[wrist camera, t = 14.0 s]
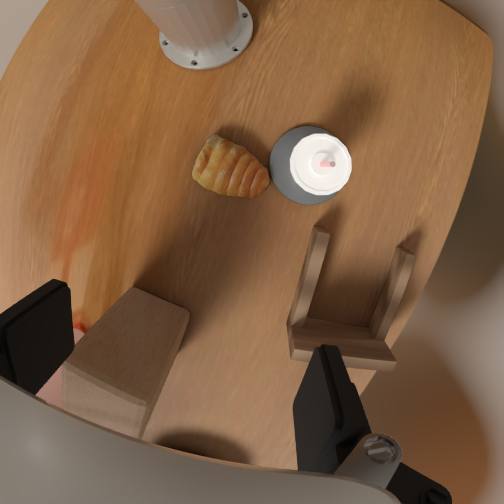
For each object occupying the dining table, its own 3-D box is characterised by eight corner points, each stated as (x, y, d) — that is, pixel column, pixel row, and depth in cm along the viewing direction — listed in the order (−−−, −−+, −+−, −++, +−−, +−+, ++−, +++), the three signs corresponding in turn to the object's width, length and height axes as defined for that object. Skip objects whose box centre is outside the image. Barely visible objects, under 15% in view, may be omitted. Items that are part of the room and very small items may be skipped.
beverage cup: (274, 158, 37) (279, 154, 23) (313, 131, 35) (339, 112, 22) (303, 198, 38) (324, 216, 24) (341, 170, 37) (381, 174, 23)
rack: (313, 225, 39) (326, 242, 31) (405, 248, 40) (436, 269, 31) (286, 323, 43) (290, 359, 35) (373, 337, 44) (392, 371, 35)
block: (131, 282, 43) (58, 357, 23) (193, 309, 43) (149, 403, 24) (120, 333, 45) (60, 414, 26) (175, 358, 46) (136, 452, 27)
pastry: (278, 163, 38) (279, 163, 34) (255, 210, 39) (254, 215, 36) (211, 132, 37) (205, 129, 33) (190, 179, 39) (182, 181, 35)
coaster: (278, 118, 36) (278, 118, 35) (353, 138, 36) (355, 138, 35) (261, 194, 38) (261, 194, 38) (336, 212, 39) (337, 212, 38)
